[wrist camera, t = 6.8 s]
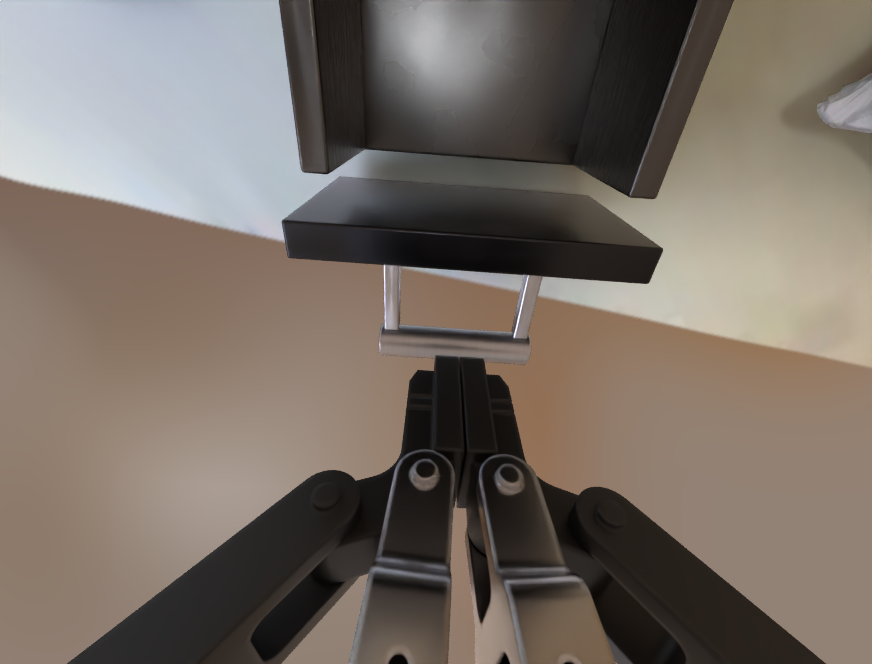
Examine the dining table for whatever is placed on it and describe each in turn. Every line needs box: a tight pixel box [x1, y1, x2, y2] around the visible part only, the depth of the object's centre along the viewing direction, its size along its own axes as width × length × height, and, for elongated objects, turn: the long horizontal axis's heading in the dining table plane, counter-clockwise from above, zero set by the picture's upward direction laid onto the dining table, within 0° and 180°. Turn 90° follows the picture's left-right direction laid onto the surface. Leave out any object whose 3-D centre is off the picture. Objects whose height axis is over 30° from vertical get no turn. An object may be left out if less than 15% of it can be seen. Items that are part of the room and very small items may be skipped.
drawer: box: [279, 0, 734, 365], centre depth 12 cm, size 19×11×7 cm, turn 176°
